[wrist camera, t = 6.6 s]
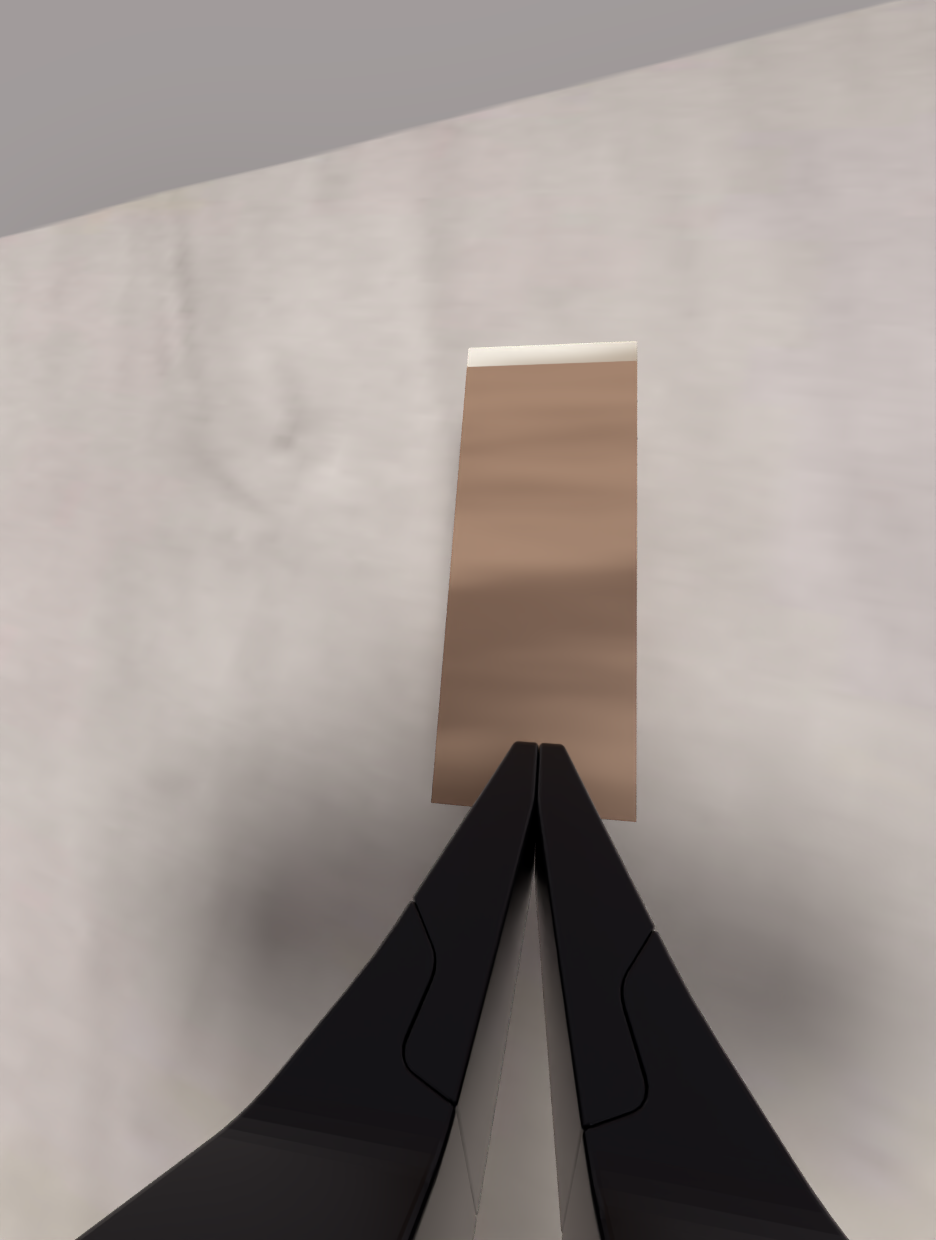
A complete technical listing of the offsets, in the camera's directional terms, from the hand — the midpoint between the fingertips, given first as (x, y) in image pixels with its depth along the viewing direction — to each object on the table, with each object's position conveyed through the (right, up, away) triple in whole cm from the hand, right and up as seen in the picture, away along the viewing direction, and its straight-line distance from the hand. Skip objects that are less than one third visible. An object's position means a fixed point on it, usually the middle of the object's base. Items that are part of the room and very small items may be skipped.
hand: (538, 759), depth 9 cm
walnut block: (+1, -2, +5) cm, 5 cm away
